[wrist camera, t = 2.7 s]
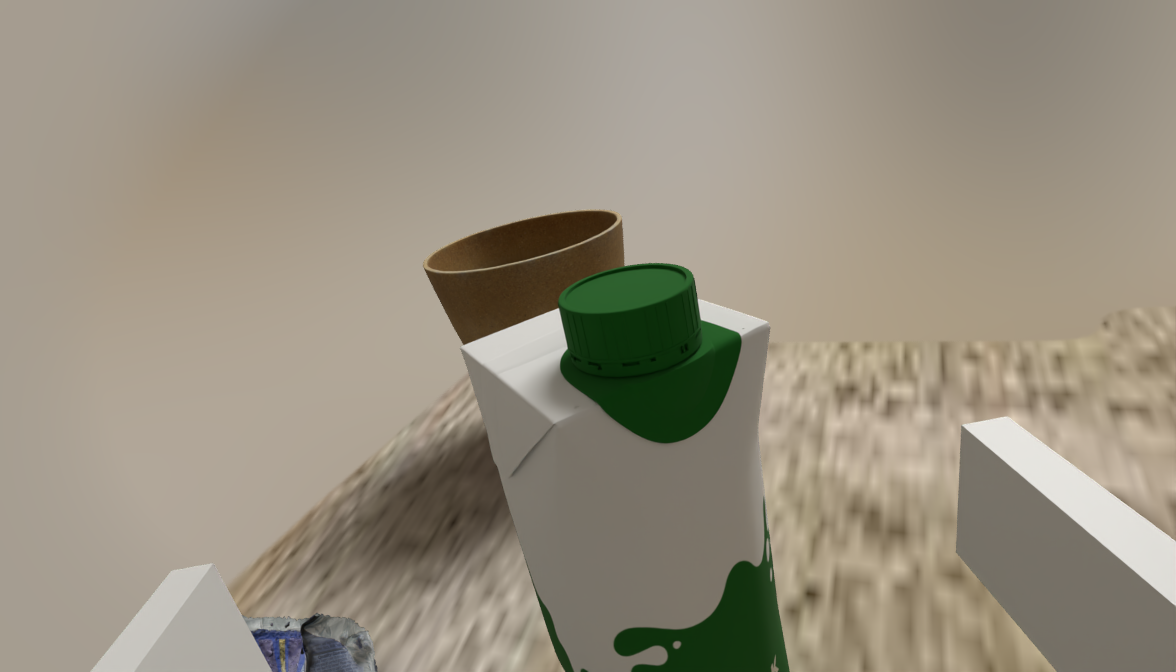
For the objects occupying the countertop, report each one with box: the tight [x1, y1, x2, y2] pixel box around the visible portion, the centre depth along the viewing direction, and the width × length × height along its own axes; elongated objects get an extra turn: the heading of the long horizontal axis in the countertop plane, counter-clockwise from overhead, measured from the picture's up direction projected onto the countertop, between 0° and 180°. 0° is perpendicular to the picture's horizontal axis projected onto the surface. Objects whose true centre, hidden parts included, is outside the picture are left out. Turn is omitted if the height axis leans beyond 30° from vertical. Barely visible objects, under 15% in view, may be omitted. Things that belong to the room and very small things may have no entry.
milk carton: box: [460, 263, 790, 672], centre depth 23 cm, size 9×9×20 cm
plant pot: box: [423, 209, 624, 345], centre depth 49 cm, size 15×15×16 cm
